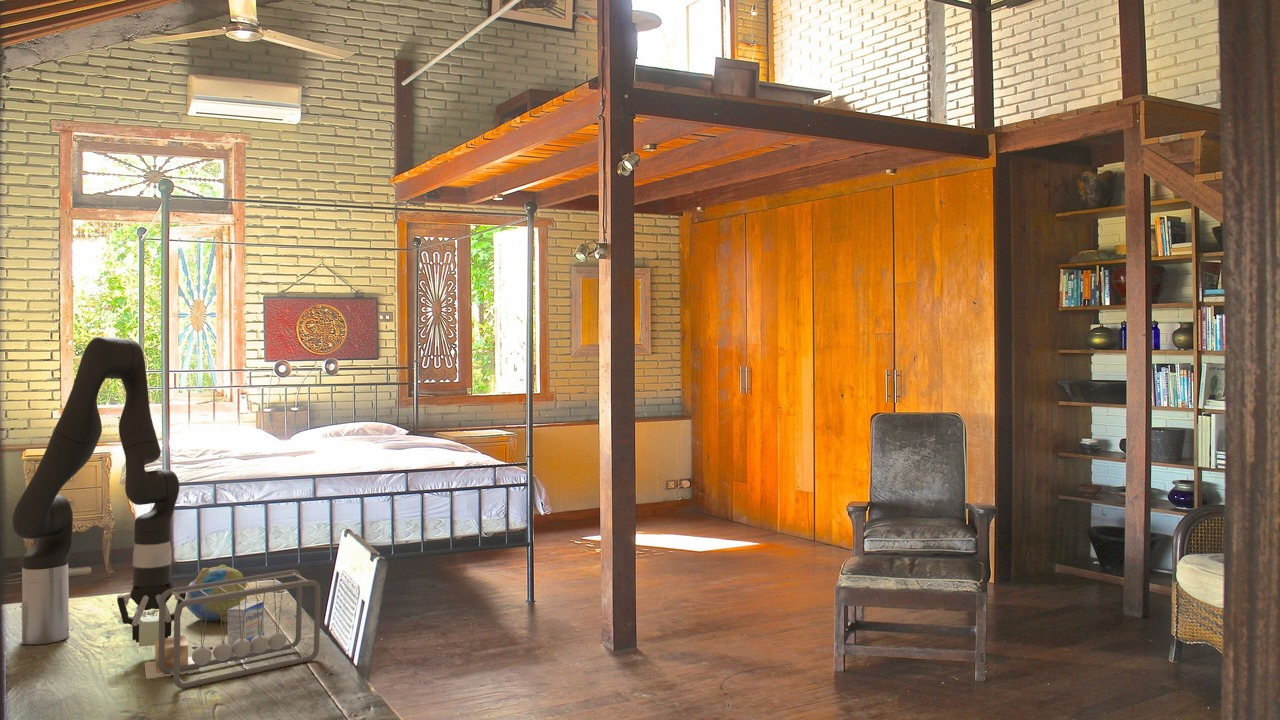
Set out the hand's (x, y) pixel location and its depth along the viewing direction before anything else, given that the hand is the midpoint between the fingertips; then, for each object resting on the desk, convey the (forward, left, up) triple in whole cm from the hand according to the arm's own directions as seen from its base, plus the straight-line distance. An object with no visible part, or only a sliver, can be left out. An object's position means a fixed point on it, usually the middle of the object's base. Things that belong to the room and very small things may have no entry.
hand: (151, 639), depth 221 cm
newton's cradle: (+17, -17, -4) cm, 24 cm away
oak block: (+4, -10, -3) cm, 11 cm away
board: (+4, -10, -4) cm, 11 cm away
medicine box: (+20, +3, -4) cm, 20 cm away
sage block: (0, 0, 0) cm, 0 cm away
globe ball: (+17, +27, -4) cm, 32 cm away
